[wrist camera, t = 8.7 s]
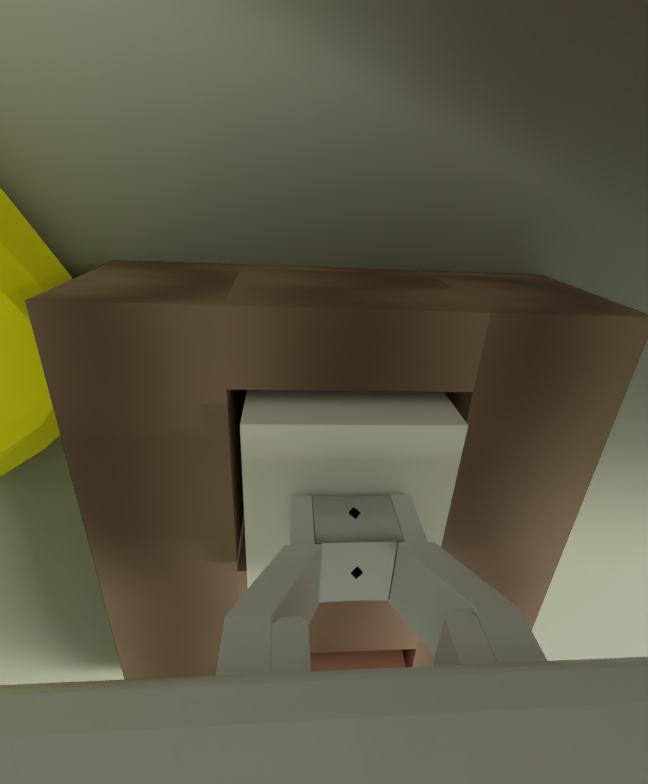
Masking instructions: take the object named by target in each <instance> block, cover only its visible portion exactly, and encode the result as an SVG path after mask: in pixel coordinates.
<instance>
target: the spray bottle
mask: <svg viewBox="0 0 648 784" xmlns="http://www.w3.org/2000/svg"><path fill="white" fill-rule="evenodd" d="M71 279H73V278H72V277H71V276H70V274H69V273H68V272H67V270H66V269H65V268H64V267H63V265H62V264H61V263H60V262H59V260H58V259H57V258H56V257H55V255H54V254H53V253H52V252H51V250H50V249H49V248H48V247H47V245H46V244H45V243H44V241H43V240H42V239H41V238H40V236H39V235H38V234H37V233H36V231H35V230H34V229H33V228H32V226H31V225H30V224H29V223H28V221H27V220H26V219H25V218H24V216H23V215H22V214H21V213H20V211H19V210H18V209H17V207H16V206H15V205H14V204H13V202H12V201H11V200H10V199H9V197H8V196H7V195H6V194H5V192H4V191H3V190H2V189H1V187H0V477H1V476H2V475H4V474H6V473H7V472H9V471H10V470H12V469H14V468H15V467H17V466H18V465H20V464H21V463H23V462H25V461H26V460H28V459H29V458H31V457H33V456H34V455H36V454H37V453H39V452H40V451H42V450H44V449H45V448H46V447H47V446H48V445H50V444H51V443H52V442H53V441H55V440H56V439H57V438H58V437H59V436H60V432H59V428H58V424H57V421H56V417H55V413H54V409H53V405H52V402H51V398H50V394H49V390H48V387H47V383H46V379H45V375H44V371H43V368H42V364H41V360H40V356H39V352H38V349H37V345H36V341H35V337H34V333H33V330H32V326H31V322H30V318H29V314H28V311H27V307H26V303H25V300H27V299H29V298H31V297H33V296H36V295H38V294H40V293H42V292H44V291H47V290H49V289H51V288H53V287H56V286H58V285H60V284H62V283H65V282H67V281H69V280H71Z"/></svg>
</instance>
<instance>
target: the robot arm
mask: <svg viewBox="0 0 648 784" xmlns="http://www.w3.org/2000/svg"><path fill="white" fill-rule="evenodd" d="M365 600H389V603H390V604H391V606H392V607H393V608H394V609H395V610H396V612H397V613H398V614H399V615H400V616H401V618H402V619H403V620H404V621H405V622H406V624H407V625H408V626H409V627H410V628H411V630H412V631H413V632H414V633H415V634H416V636H417V637H418V638H419V639H420V641H421V642H422V643H423V644H424V645H425V647H426V648H427V649H428V650H429V651H430V653H431V654H432V655H433V656H434V661H433V665H432V666H424V667H401V668H378V669H356V670H333V671H311V663H310V644H309V625H308V624H309V622H310V620H311V618H312V617H313V615H314V613H315V611H316V609H317V607H318V605H319V603H320V602H337V601H365ZM0 784H648V657H627V658H604V659H581V660H558V661H547V659H546V657H545V655H544V653H543V652H542V650H541V648H540V646H539V644H538V642H537V640H536V639H535V637H534V635H533V633H532V631H531V629H530V627H529V625H528V624H527V622H526V620H525V618H524V616H523V614H522V612H521V611H520V609H519V607H517V606H516V605H515V604H514V603H512V602H511V601H510V600H508V599H507V598H506V597H505V596H503V595H502V594H501V593H499V592H498V591H497V590H496V589H494V588H493V587H492V586H490V585H489V584H488V583H486V582H485V581H484V580H483V579H481V578H480V577H479V576H477V575H476V574H475V573H474V572H472V571H471V570H470V569H468V568H467V567H466V566H465V565H463V564H462V563H461V562H459V561H458V560H457V559H455V558H454V557H453V556H452V555H450V554H449V553H448V552H446V551H445V550H444V549H443V548H441V547H440V546H439V545H437V544H436V543H435V542H428V540H427V538H426V535H425V533H424V530H423V527H422V525H421V522H420V520H419V517H418V515H417V512H416V509H415V507H414V504H413V502H412V499H411V497H410V496H409V495H408V494H400V495H388V496H387V495H380V496H321V495H312V497H311V496H291V512H290V545H284V546H283V547H282V549H281V550H280V551H279V552H278V553H277V555H276V556H275V557H274V558H273V559H272V561H271V562H270V563H269V564H268V565H267V567H266V568H265V569H264V570H263V571H262V573H261V574H260V575H259V576H258V577H257V579H256V580H255V581H254V582H253V583H252V585H251V586H250V587H249V588H248V589H247V591H246V592H245V593H244V594H243V595H242V597H241V598H240V599H239V600H238V601H237V603H236V604H235V605H234V606H233V607H232V609H231V610H230V611H229V612H228V613H227V615H226V616H225V618H224V624H223V631H222V637H221V643H220V650H219V656H218V662H217V669H216V675H215V676H197V677H175V678H152V679H129V680H107V681H84V682H62V683H39V684H17V685H0Z"/></svg>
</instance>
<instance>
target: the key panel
mask: <svg viewBox="0 0 648 784" xmlns="http://www.w3.org/2000/svg"><path fill="white" fill-rule="evenodd" d="M25 303H26V307H27V311H28V314H29V318H30V322H31V326H32V330H33V333H34V337H35V341H36V345H37V349H38V352H39V356H40V360H41V364H42V368H43V371H44V375H45V379H46V383H47V387H48V390H49V394H50V398H51V402H52V405H53V409H54V413H55V417H56V421H57V424H58V428H59V432H60V436H61V440H62V443H63V447H64V451H65V455H66V459H67V462H68V466H69V470H70V474H71V478H72V481H73V485H74V489H75V493H76V497H77V500H78V504H79V508H80V512H81V516H82V519H83V523H84V527H85V531H86V535H87V538H88V542H89V546H90V550H91V554H92V557H93V561H94V565H95V569H96V573H97V576H98V580H99V584H100V588H101V592H102V595H103V599H104V603H105V607H106V611H107V614H108V618H109V622H110V626H111V630H112V633H113V637H114V641H115V645H116V649H117V652H118V656H119V660H120V664H121V668H122V671H123V675H124V679H125V680H129V679H152V678H175V677H197V676H215V675H216V669H217V662H218V656H219V650H220V643H221V637H222V631H223V624H224V618H225V616H226V615H227V613H228V612H229V611H230V610H231V609H232V607H233V606H234V605H235V604H236V603H237V601H238V600H239V599H240V598H241V597H242V595H243V594H244V593H245V592H246V591H247V589H248V587H247V565H246V544H245V523H244V501H243V480H242V458H241V437H240V422H241V417H242V412H243V407H244V402H245V398H246V393H247V390H325V391H416V392H444V393H445V394H446V395H447V397H448V398H449V399H450V401H451V402H452V404H453V405H454V406H455V408H456V409H457V411H458V412H459V413H460V415H461V416H462V417H463V419H464V420H465V422H466V423H467V424H468V429H467V433H466V438H465V442H464V447H463V451H462V456H461V460H460V465H459V469H458V473H457V478H456V482H455V487H454V491H453V496H452V500H451V505H450V509H449V513H448V518H447V522H446V527H445V531H444V536H443V540H442V545H441V548H443V549H444V550H445V551H446V552H448V553H449V554H450V555H452V556H453V557H454V558H455V559H457V560H458V561H459V562H461V563H462V564H463V565H465V566H466V567H467V568H468V569H470V570H471V571H472V572H474V573H475V574H476V575H477V576H479V577H480V578H481V579H483V580H484V581H485V582H486V583H488V584H489V585H490V586H492V587H493V588H494V589H496V590H497V591H498V592H499V593H501V594H502V595H503V596H505V597H506V598H507V599H508V600H510V601H511V602H512V603H514V604H515V605H516V606H517V607H519V609H520V611H521V612H522V614H523V616H524V618H525V620H526V622H527V624H528V625H529V627H530V629H531V630H532V628H533V625H534V623H535V620H536V618H537V615H538V613H539V610H540V608H541V605H542V603H543V600H544V598H545V595H546V593H547V590H548V587H549V585H550V582H551V580H552V577H553V575H554V572H555V570H556V567H557V565H558V562H559V560H560V557H561V555H562V552H563V550H564V547H565V545H566V542H567V540H568V537H569V534H570V532H571V529H572V527H573V524H574V522H575V519H576V517H577V514H578V512H579V509H580V507H581V504H582V502H583V499H584V497H585V494H586V492H587V489H588V487H589V484H590V481H591V479H592V476H593V474H594V471H595V469H596V466H597V464H598V461H599V459H600V456H601V454H602V451H603V449H604V446H605V444H606V441H607V439H608V436H609V434H610V431H611V428H612V426H613V423H614V421H615V418H616V416H617V413H618V411H619V408H620V406H621V403H622V401H623V398H624V396H625V393H626V391H627V388H628V386H629V383H630V381H631V378H632V375H633V373H634V370H635V368H636V365H637V363H638V360H639V358H640V355H641V353H642V350H643V348H644V345H645V343H646V340H647V338H648V314H646V313H643V312H640V311H638V310H635V309H632V308H630V307H627V306H624V305H621V304H619V303H616V302H613V301H611V300H608V299H605V298H603V297H600V296H597V295H595V294H592V293H589V292H587V291H584V290H581V289H579V288H576V287H573V286H571V285H568V284H565V283H563V282H560V281H557V280H555V279H552V278H549V277H547V276H544V275H524V274H496V273H467V272H438V271H409V270H380V269H351V268H323V267H294V266H265V265H236V264H207V263H179V262H150V261H121V260H114V261H111V262H109V263H107V264H105V265H102V266H100V267H98V268H96V269H93V270H91V271H89V272H87V273H85V274H82V275H80V276H78V277H76V278H73V279H71V280H69V281H67V282H65V283H62V284H60V285H58V286H56V287H53V288H51V289H49V290H47V291H44V292H42V293H40V294H38V295H36V296H33V297H31V298H29V299H27V300H25ZM308 625H309V644H310V653H327V652H352V651H377V650H402V652H403V657H404V661H405V665H406V667H424V666H432V665H433V661H434V656H433V655H432V654H431V653H430V651H429V650H428V649H427V648H426V647H425V645H424V644H423V643H422V642H421V641H420V639H419V638H418V637H417V636H416V634H415V633H414V632H413V631H412V630H411V628H410V627H409V626H408V625H407V624H406V622H405V621H404V620H403V619H402V618H401V616H400V615H399V614H398V613H397V612H396V610H395V609H394V608H393V607H392V606H391V604H390V603H389V600H365V601H337V602H320V603H319V605H318V607H317V609H316V611H315V613H314V615H313V617H312V618H311V620H310V622H309V624H308Z"/></svg>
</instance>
